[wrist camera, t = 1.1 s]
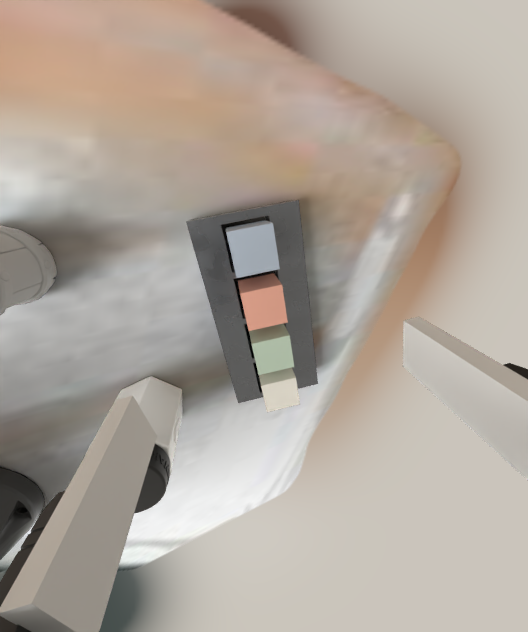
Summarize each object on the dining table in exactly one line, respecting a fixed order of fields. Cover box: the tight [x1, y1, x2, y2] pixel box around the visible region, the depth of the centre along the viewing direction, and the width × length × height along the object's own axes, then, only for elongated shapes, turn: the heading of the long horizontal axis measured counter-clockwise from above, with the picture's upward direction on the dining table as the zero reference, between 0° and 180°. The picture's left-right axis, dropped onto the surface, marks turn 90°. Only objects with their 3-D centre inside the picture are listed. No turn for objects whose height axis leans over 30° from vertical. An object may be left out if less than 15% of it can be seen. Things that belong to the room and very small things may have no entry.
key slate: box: [226, 220, 280, 278], centre depth 24 cm, size 4×4×4 cm
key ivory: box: [259, 367, 300, 412], centre depth 31 cm, size 4×4×4 cm
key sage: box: [249, 323, 294, 375], centre depth 28 cm, size 4×4×4 cm
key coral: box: [238, 273, 288, 331], centre depth 26 cm, size 4×4×4 cm
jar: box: [87, 376, 183, 513], centre depth 30 cm, size 9×8×12 cm
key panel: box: [187, 200, 318, 403], centre depth 30 cm, size 11×23×3 cm, turn 10°
